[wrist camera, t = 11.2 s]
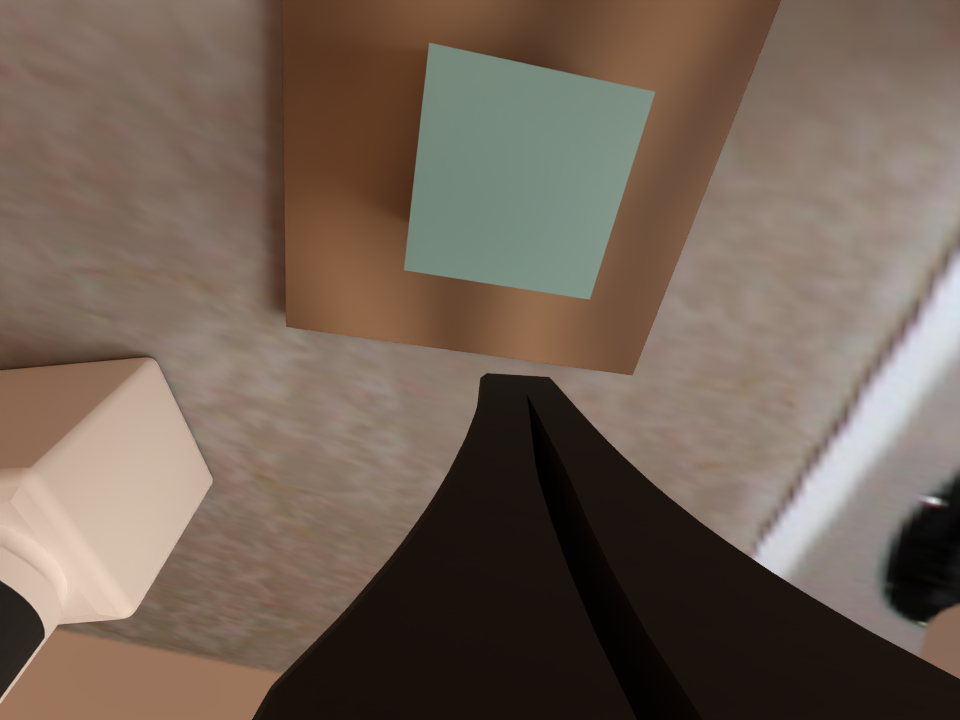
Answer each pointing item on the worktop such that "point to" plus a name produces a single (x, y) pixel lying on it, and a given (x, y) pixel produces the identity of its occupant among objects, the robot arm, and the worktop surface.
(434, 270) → the sage green cube
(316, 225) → the board
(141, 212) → the worktop surface
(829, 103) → the worktop surface
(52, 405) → the medicine bottle
